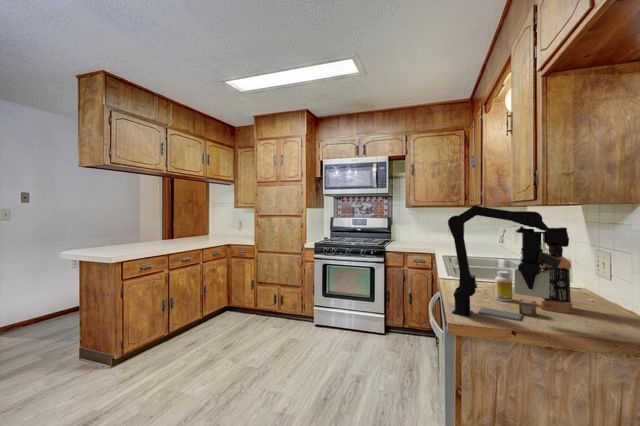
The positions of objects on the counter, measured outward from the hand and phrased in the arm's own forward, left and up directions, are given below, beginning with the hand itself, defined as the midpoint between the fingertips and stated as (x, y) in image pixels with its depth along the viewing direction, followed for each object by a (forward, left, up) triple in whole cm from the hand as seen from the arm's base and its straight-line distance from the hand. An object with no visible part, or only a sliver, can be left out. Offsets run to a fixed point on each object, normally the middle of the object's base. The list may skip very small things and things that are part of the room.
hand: (531, 287), depth 109 cm
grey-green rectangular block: (0, 0, -3) cm, 3 cm away
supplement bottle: (+25, +13, -13) cm, 31 cm away
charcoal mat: (+2, +11, -13) cm, 17 cm away
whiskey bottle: (+24, -6, -13) cm, 28 cm away
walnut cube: (+9, +2, -13) cm, 16 cm away
